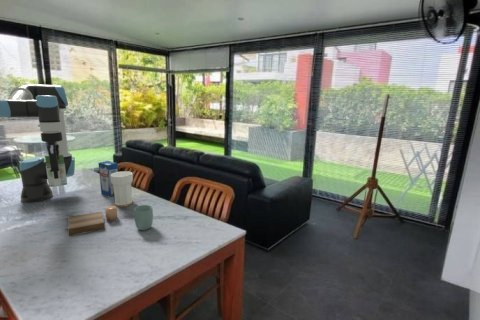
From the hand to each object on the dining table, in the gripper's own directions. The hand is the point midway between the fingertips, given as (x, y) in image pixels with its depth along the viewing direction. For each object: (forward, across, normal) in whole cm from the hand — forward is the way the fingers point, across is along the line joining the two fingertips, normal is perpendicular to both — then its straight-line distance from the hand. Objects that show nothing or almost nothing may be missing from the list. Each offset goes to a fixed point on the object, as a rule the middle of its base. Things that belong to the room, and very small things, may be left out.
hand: (58, 183), depth 122 cm
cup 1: (+20, -17, +28) cm, 38 cm away
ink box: (+1, 0, 0) cm, 1 cm away
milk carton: (+20, -36, +22) cm, 47 cm away
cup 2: (+21, +19, +33) cm, 43 cm away
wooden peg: (+21, +3, +20) cm, 29 cm away
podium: (+21, +5, +9) cm, 23 cm away
